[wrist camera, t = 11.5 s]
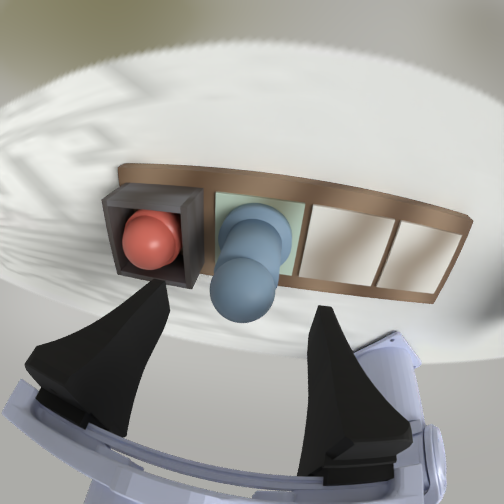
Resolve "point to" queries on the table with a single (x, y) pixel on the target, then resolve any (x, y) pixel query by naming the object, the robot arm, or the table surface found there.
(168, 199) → the game board
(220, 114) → the table surface
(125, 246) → the dome
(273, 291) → the pawn
